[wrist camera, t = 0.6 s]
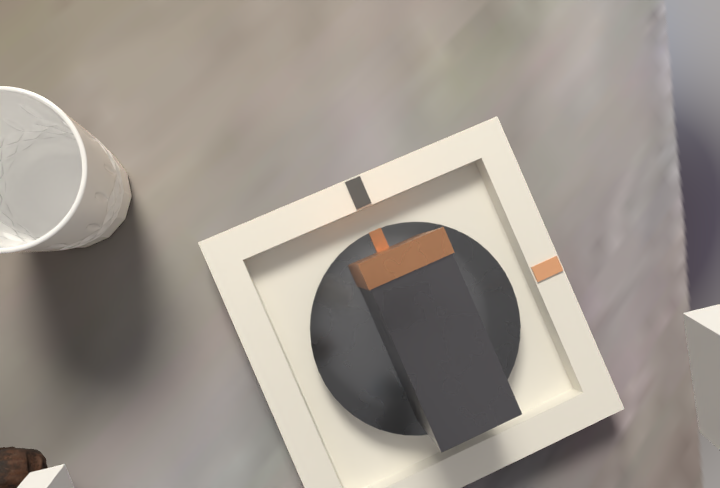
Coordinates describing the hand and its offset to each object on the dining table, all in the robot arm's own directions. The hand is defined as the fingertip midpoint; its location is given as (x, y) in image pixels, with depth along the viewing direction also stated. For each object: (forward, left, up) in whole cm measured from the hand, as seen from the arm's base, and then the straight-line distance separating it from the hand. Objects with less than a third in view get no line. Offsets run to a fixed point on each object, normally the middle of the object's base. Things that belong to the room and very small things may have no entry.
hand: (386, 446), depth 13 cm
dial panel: (-2, -5, -27) cm, 28 cm away
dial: (-2, -5, -26) cm, 27 cm away
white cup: (+14, +11, -28) cm, 33 cm away
